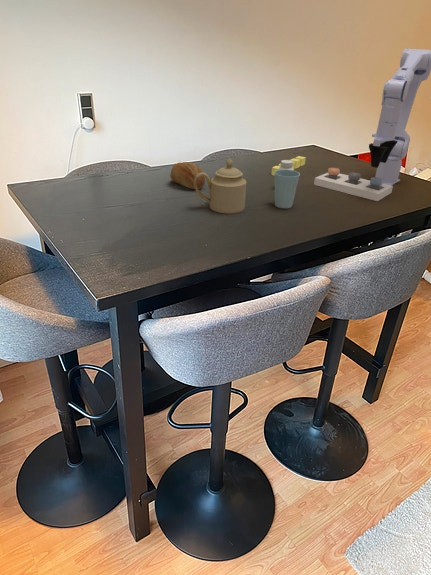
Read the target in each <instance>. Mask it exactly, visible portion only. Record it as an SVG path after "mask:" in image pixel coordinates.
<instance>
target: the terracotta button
mask: <svg viewBox="0 0 431 575" xmlns="http://www.w3.org/2000/svg"><path fill="white" fill-rule="evenodd" d="M340 170H341V169H340V168H337V167H328V169H327V173H328V174H329V177H328V178H330V179H334V180H337V175H339V173H340Z"/></svg>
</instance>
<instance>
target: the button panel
mask: <svg viewBox="0 0 431 575" xmlns="http://www.w3.org/2000/svg"><path fill="white" fill-rule="evenodd" d="M348 176H349V174H344V173H340V172H339V175H337V180H334V179H330V178H328V177H329V174H328V172H326V173H325V172H324V173H323V174H320V175H319V176H316V177H314V181H313V182H314V183H313V186H318V187H321V188H325V189H329V190H333V191H337V192H340V193H344V194H348V195H352V196H356V197H360V198H364V199H367V200H371V201H375V202H379V201H380V200H383V199H384V198H385V197H387V196H388V195H390V194H392V192H393V188H394V185H392V186H391V185H387V184H383V183H382V185H380V188H379V190H375V189H371V188H370V186H371V184H370V180H368V179H365V178H362V177H360V180H358V183H357V185H355V184H351V183H349V179H348Z"/></svg>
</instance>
